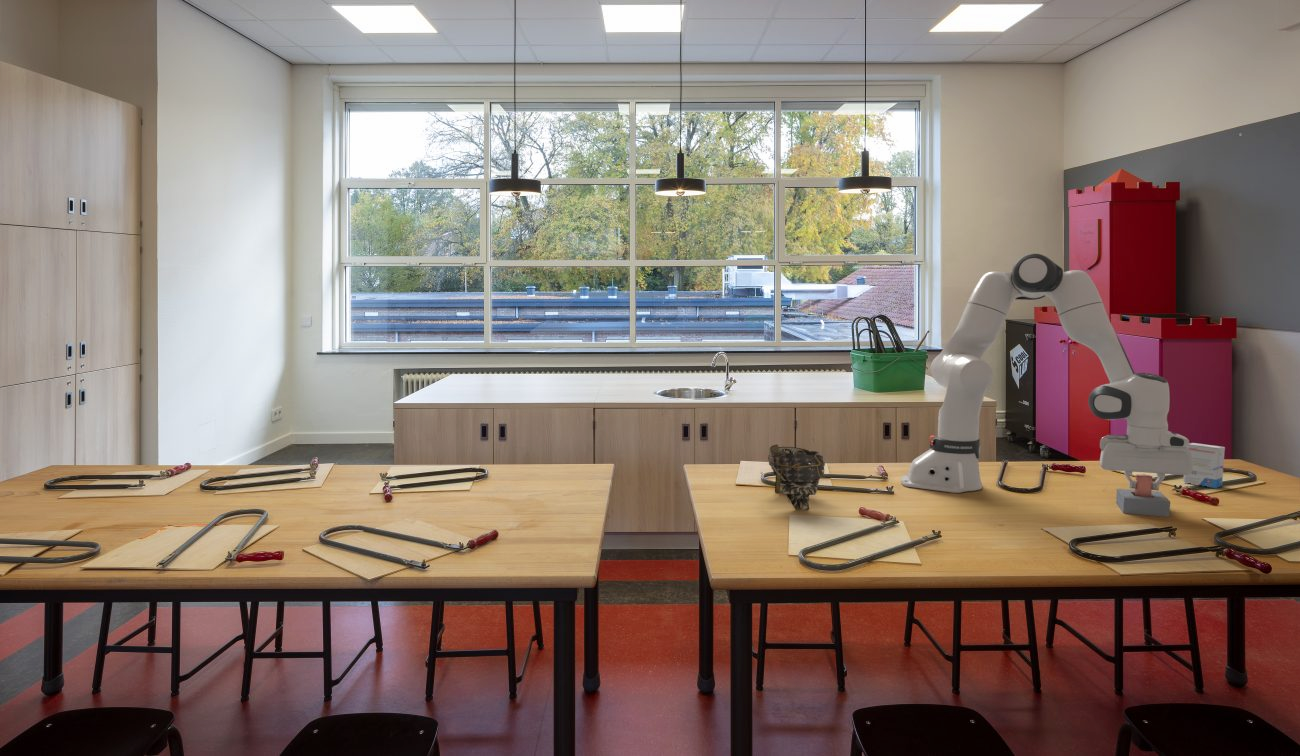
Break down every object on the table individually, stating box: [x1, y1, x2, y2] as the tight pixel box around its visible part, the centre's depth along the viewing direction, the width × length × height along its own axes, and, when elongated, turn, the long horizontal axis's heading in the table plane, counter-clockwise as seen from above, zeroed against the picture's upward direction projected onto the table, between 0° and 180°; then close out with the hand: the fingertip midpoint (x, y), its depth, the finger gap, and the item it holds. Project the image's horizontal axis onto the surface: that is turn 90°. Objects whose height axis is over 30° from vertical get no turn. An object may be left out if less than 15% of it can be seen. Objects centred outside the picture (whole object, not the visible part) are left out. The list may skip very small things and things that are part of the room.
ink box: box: [1182, 442, 1226, 489], centre depth 224 cm, size 8×5×12 cm, turn 35°
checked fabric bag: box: [767, 444, 826, 511], centre depth 211 cm, size 22×15×15 cm
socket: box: [1115, 488, 1171, 518], centre depth 199 cm, size 10×10×4 cm
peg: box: [1134, 473, 1153, 497], centre depth 199 cm, size 4×4×7 cm
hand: (1143, 488), depth 199 cm, fingers closed on peg, 4 cm apart
